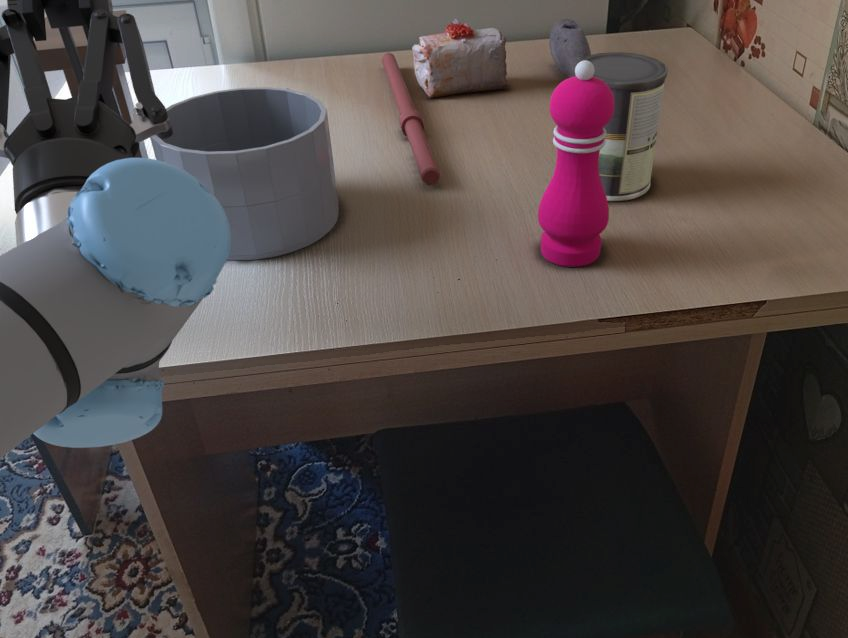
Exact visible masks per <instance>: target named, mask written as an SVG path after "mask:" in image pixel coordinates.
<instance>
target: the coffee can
mask: <svg viewBox="0 0 848 638" xmlns="http://www.w3.org/2000/svg"><path fill="white" fill-rule="evenodd" d="M584 60H587V61H590V62H591V63H592V64H593V66H594V69H595V70H594V75H593V77H595V78H598V79H600V80H602V81H603V82H605V83H606V84H607V85H608V86H609V88H610V89H611V91H612V93H613V97H614V113H613V116H612V118H611V120H610V121H609V122H608V124H606V125H605V126H604V128H605V130H606V136H605V145H604V147H603V148H602V149H600V153H599V165H598V169H599V175H600V179H601V182H602V185H603V188H604V191H605V194H606V197H607V202H625V201H629V200H630V201H631V200H634V199H637V198H640V197H641V196H643V195H645V194H647V192H648V191H649V190H650V188H651V180H652V173H653V164H654V157H655V152H656V143H657V137H658V131H659V123H660V118H661V117H660V116H661V110H662V103H663V96H664V91H665V82H666V79H667V76H668V72H669V71H668V69H669V68H668V67H667V65H666V64H665V63H664V62H663V61H660V60H659V59H657V58H654V57H651V56H648V55H644V54H639V53H633V52H621V51H620V52H618V51H617V52H616V51H615V52H614V51H613V52H612V51H611V52H600V53H594V54H591V55H590V56H586V57H584V58H581V59H580V60H578V61H577V62H576V63H575V65H574V74H575V68H576V66H577V64H578V63H579V62H581V61H584ZM575 76H576V75H575Z"/></svg>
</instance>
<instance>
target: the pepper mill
mask: <svg viewBox="0 0 848 638" xmlns="http://www.w3.org/2000/svg"><path fill="white" fill-rule="evenodd" d="M594 70H595V69H594V66H593V64H592V63H591V62H590V61H587V60H584V61H581V62H579V63H578V64H577V66H576V68H575V75H576V76H574V77H570V78H566V79H564V80H562V81H561V82H560V83H559V84H558V85H557V86H556V87H554V90H553V92H552V94H551V96H550V101H549V114H550V115H549V116H550V117H551V119H552V121H553V122H554V124H555V125H556V126H555V127H554V128H553V138H552V143H553V145H554V146H555V147H556V162H555V168H554V171H553V174H552V177H551V179H550V181H549V183H548V185H547V187H546V188H545V190H544V192H543V194H542V197H541V199H540V202H539V205H538V212H537V220H538V224H539V226H540V228H541V229H542V231H543V232H542V234H541V238H540V239H541V242H540V253H541V255H542V256H543V258H545V260H547V261H548V262H550V263H552V264H555V265H557V266H562V267H566V268H568V267H569V268H570V267H571V268H576V267H577V268H578V267H584V266H587V265H588V266H589V265H590V264H592V263H594V262H596V261H597V259H598V258H599V257H600V255H601V248H602V237H601V234H602V233H603V232H604V231H605V230H606V228H607V226H608V224H609V217H610V208H609V201H607V197H606V194H605V191H604V188H603V185H602V182H601V179H600V175H599V169H598V165H599V153H600V149H602V148H603V147H604V145H605V136H606V130H605V128H604V126H605V125H606V124H608V122H609V121H610V120H611V118H612V116H613V113H614V97H613V93H612V91H611V89H610V88H609V86H608V85H607V84H606V83H605V82H603V81H602V80H600V79H598V78H595V77H593V75H594Z"/></svg>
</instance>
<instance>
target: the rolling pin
mask: <svg viewBox="0 0 848 638" xmlns="http://www.w3.org/2000/svg"><path fill="white" fill-rule="evenodd" d="M381 63H382V66H383V69H384V71H385V74H386V78H387V81H388V84H389V87H390V89H391V93H392V95H393V98H394V101H395V104H396V108H397V110H398V113H399V116H400V117H399V119H398V121H399V126H400V129H401V132H402V134H403V135H404V136H405V137H407V140H408V143H409V146H410V149H411V152H412V155H413V157H414V161H415V164H416V166H417V169H418V172H419V175H420V178H421V181H422V182H423V183H424V184H425V185H429V186H433V185H435V184H437V183H438V182H439V180H440V178H441V174H440V171H439V168H438V165H437V163H436V160H435V158H434V154H433V152H432V149H431V147H430V145H429V142H428V139H427V136H426V134H425V132H424V130H425V123H424V120H423V117H422V115H421V113H419V112H418V110H416V108H415V105H414V104H413V100H412V98H411V95H410V93H409V90H408V87H407V85H406V82H405V80H404V77H403V75H402V72H401V70H400V66H399V64H398V61H397V58H396V56H395V55H394V54H393V53H391V52H386V53H384V54H383V55H382V57H381Z"/></svg>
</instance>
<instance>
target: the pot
mask: <svg viewBox="0 0 848 638" xmlns="http://www.w3.org/2000/svg"><path fill="white" fill-rule="evenodd" d="M165 108H166V111H167V114H168V117H169V120H170V123H171V126H172V129H173V134H172V136H171V137H169V138H167V139H162V138H159V137H158V136H157V135H154V136H152V137H150V138H149V139H150V143H151V146H152V150H153V154H154V157H155V160H158V161H162V162H165V163H168V164H171V165H174V166H176V167H178V168H180V169H182V170H184V171H186V172H188V173H189V174H191V175H193V176H194V177H195V178H196V179H198V180H199V181H200V182H201V184H202V185H203V186H205V187H206V188H208V189H209V191H210V192H211V193H212V195H214V196H215V197H216V198H217V200H218V201H219V202H220V204H221V206H222V207H223V209H224V211H225V214H226V216H227V219H228V222H229V225H230V231H231V246H230V252H229V255H228V258H227V260H226V261H253V260H262V259H269V258H274V257H280V256H283V255H288V254H290V253H293V252H296V251H299V250H301V249H304V248H306V247H309V246H310V245H312V244H314V243H316V242H317V241H319V240H320V239H322V238H323V237H325V236H326V235H327V234H328V233H329V232H330V231H331V230H332V229H333V228H334V227H335V225H336V224H337V221H338V218H339V214H340V213H339V207H340V203H339V195H338V188H337V187H338V186H337V180H336V179H337V178H336V173H335V172H336V171H335V164H334V156H333V147H332V140H331V132H330V123H329V116H328V110H327V107H325V105H324V103H323V101H322V100H320V99H319V98H316V97H314V96H313V95H311V94H309V93H306V92H303V91H298V90H294V89H291V88H281V87H269V86H261V87H257V86H256V87H255V86H254V87H238V88H231V89H230V88H229V89H223V90H216V91H211V92H207V93H203V94H199V95H195V96H192V97H189V98H186V99H184V100H181V101H178V102H176V103H173V104H171V105H170V106H169V105H168V106H167V107H165Z"/></svg>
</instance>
